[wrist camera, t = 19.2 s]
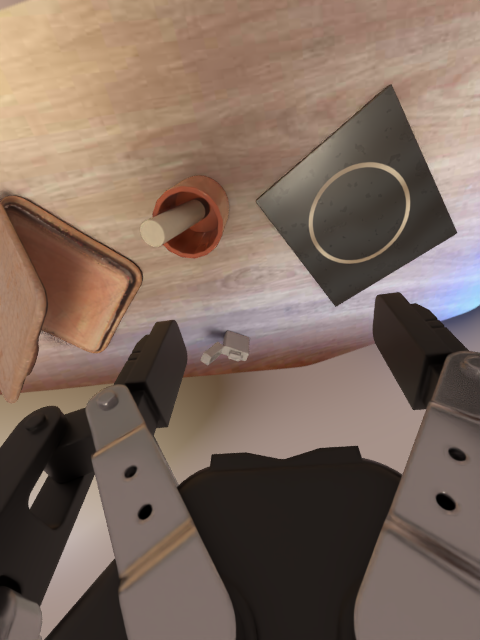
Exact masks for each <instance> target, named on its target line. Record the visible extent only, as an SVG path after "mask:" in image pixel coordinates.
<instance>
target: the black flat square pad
mask: <svg viewBox="0 0 480 640" xmlns="http://www.w3.org/2000/svg"><path fill="white" fill-rule="evenodd" d="M256 202H257V204H258V205H259V206H260V208H261V209H262V210H263V212H264V213H265V214H266V216H267V217H268V218H269V220H270V221H271V222H272V224H273V225H274V226H275V227H276V229H277V230H278V231H279V233H280V234H281V235H282V237H283V238H284V239H285V241H286V242H287V243H288V245H289V246H290V247H291V249H292V250H293V251H294V253H295V254H296V255H297V256H298V258H299V259H300V260H301V262H302V263H303V264H304V266H305V267H306V268H307V270H308V271H309V272H310V274H311V275H312V276H313V278H314V279H315V280H316V282H317V283H318V284H319V285H320V287H321V288H322V289H323V291H324V292H325V293H326V295H327V296H328V297H329V299H330V300H331V301H332V303H333V304H334V305H335V307H336V306H338V305H339V304H341V303H343V302H344V301H346V300H348V299H349V298H351V297H353V296H354V295H356V294H358V293H359V292H361V291H363V290H364V289H366V288H368V287H369V286H371V285H372V284H374V283H376V282H377V281H379V280H381V279H382V278H384V277H386V276H387V275H389V274H391V273H392V272H394V271H396V270H397V269H399V268H401V267H402V266H404V265H406V264H407V263H409V262H411V261H412V260H414V259H415V258H417V257H419V256H420V255H422V254H424V253H425V252H427V251H429V250H430V249H432V248H434V247H435V246H437V245H439V244H440V243H442V242H444V241H445V240H447V239H449V238H450V237H452V236H454V235H455V234H457V231H456V229H455V227H454V224H453V222H452V220H451V217H450V215H449V213H448V211H447V208H446V206H445V204H444V202H443V199H442V197H441V195H440V193H439V190H438V188H437V186H436V184H435V181H434V179H433V177H432V175H431V172H430V170H429V168H428V166H427V163H426V161H425V159H424V157H423V154H422V152H421V150H420V148H419V145H418V143H417V141H416V139H415V136H414V134H413V132H412V130H411V127H410V125H409V123H408V121H407V118H406V116H405V114H404V112H403V109H402V107H401V105H400V103H399V100H398V98H397V96H396V94H395V91H394V89H393V87H392V85H389V86H387V87H386V88H385V89H384V90H383V91H382V92H381V93H379V94H378V95H377V96H376V97H375V98H374V99H372V100H371V101H370V102H369V103H368V104H367V105H366V106H364V107H363V108H362V109H361V110H360V111H359V112H357V113H356V114H355V115H354V116H353V117H352V118H350V119H349V120H348V121H347V122H346V123H345V124H344V125H342V126H341V127H340V128H339V129H338V130H337V131H335V132H334V133H333V134H332V135H331V136H330V137H329V138H327V139H326V140H325V141H324V142H323V143H322V144H320V145H319V146H318V147H317V148H316V149H315V150H313V151H312V152H311V153H310V154H309V155H308V156H307V157H305V158H304V159H303V160H302V161H301V162H300V163H298V164H297V165H296V166H295V167H294V168H293V169H292V170H290V171H289V172H288V173H287V174H286V175H285V176H283V177H282V178H281V179H280V180H279V181H278V182H277V183H275V184H274V185H273V186H272V187H271V188H270V189H268V190H267V191H266V192H265V193H264V194H263V195H261V196H260V197H259V198H258V199H257V200H256Z"/></svg>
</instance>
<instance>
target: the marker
mask: <svg viewBox="0 0 480 640" xmlns="http://www.w3.org/2000/svg"><path fill="white" fill-rule="evenodd" d="M209 210H210V209H209V205H208V203H207V201H206V200H204V199H203V198H195V199H193V200H191V201H188V202H186V203H184V204H182V205H179V206H177V207H175V208H173V209H170V210H168V211H166V212H164V213H161V214H159V215H157V216H155V217H152V218H150V219H148V220H146V221H144V222H143V223H142V225H141V228H140V233H141V236H142V238H143V240H144V241H145V242H146V243H147V244H148V245H150V246H152V247H159V246H161V245H163V244H164V243H166V242H167V241H169V240H171V239H172V238H174V237H175V236H177V235H179V234H180V233H182V232H183V231H185V230H187V229H188V228H190V227H191V226H193V225H195V224H196V223H198V222H199V221H201V220H203V219H204V218H206V217H207V216H208V214H209Z"/></svg>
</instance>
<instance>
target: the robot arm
mask: <svg viewBox="0 0 480 640" xmlns="http://www.w3.org/2000/svg"><path fill="white" fill-rule="evenodd" d="M373 337H374V341H375V344H376V345H377V347H378V349H379V351H380V352H381V354H382V356H383V358H384V360H385V361H386V363H387V365H388V367H389V368H390V370H391V372H392V374H393V376H394V377H395V379H396V381H397V383H398V384H399V386H400V388H401V390H402V391H403V393H404V395H405V397H406V398H407V400H408V402H409V404H410V405H411V407H412V409H413V410H421V409H426V412H425V414H424V417H423V420H422V423H421V425H420V428H419V431H418V434H417V436H416V439H415V442H414V445H413V447H412V450H411V453H410V456H409V458H408V461H407V464H406V467H405V469H404V472H403V475H402V474H401V473H399V472H398V471H396V470H394V469H392V468H390V467H388V466H386V465H383V464H381V463H378V462H376V461H372V460H369V459H365V458H362V457H361V454H360V451H359V448H358V446H347V447H329V448H319V449H316V450H313V451H309V452H306V453H303V454H300V455H297V456H293V457H290V458H287V459H277V458H272V457H266V456H261V455H256V454H251V453H230V454H229V453H228V454H214V455H213V454H212V456H211V464H210V467H207V468H204V469H202V470H200V471H198V472H196V473H194V474H193V475H191V476H190V477H188V478H187V479H186V480H184V481H183V482H182V483H181V484H180V485H179V484H178V482H177V480H176V478H175V477H174V475H173V473H172V470H171V468H170V467H169V465H168V463H167V461H166V459H165V457H164V455H163V453H162V451H161V449H160V447H159V445H158V443H157V441H156V439H155V437H154V433H155V430H156V428H162V427H168V425H169V421H170V418H171V414H172V411H173V408H174V404H175V401H176V398H177V394H178V391H179V388H180V384H181V381H182V377H183V374H184V371H185V367H186V364H187V350H186V347H185V344H184V341H183V338H182V335H181V333H180V330H179V327H178V324H177V322H176V321H175V320H169V321H161V322H156V323H155V325H154V327H153V329H152V331H151V333H150V335H145V336H144V337H143V338H142V339H141V340H140V341H139V342H138V343H137V344H136V346H135V348H134V349H133V351H132V354H131V355H130V356H129V358H128V361H127V362H126V364H125V365H124V367H123V369H122V371H121V372H120V374H119V376H118V378H117V380H116V381H115V383H114V385H112V386H109V387H106V388H104V389H102V390H100V391H99V392H97V393H96V394H95V395H94V396H93V397H92V398H91V399H90V400H89V402H88V403H87V406H86V408H83V409H80V410H77V411H74V412H71V413H68V414H65V415H64V414H63V413H62V412H61V410H60V409H59V408H58V407H56V406H47V407H43V408H40V409H38V410H36V411H34V412H32V413H31V414H29V415H28V416H26V417H25V418H24V419H23V420H22V421H21V422H20V423H19V424H18V425H17V426H16V428H15V429H14V430H13V432H12V433H11V434H10V435H9V437H8V438H7V439H6V441H5V442H4V443H3V445H2V446H1V447H0V640H42V638H41V636H40V631H41V626H42V612H41V609H40V605H41V603H42V600H43V598H44V595H45V593H46V591H47V588H48V586H49V583H50V581H51V579H52V576H53V574H54V571H55V569H56V567H57V564H58V562H59V559H60V557H61V555H62V552H63V550H64V547H65V545H66V543H67V540H68V538H69V535H70V533H71V531H72V528H73V526H74V523H75V521H76V518H77V516H78V514H79V511H80V509H81V506H82V504H83V502H84V499H85V497H86V494H87V492H88V489H89V487H90V485H91V482H92V480H93V477H94V475H95V476H96V480H97V484H98V489H99V493H100V497H101V502H102V505H103V510H104V514H105V518H106V522H107V527H108V531H109V535H110V539H111V543H112V547H113V552H114V556H115V559H114V560H113V561H112V562H111V563H110V564H109V566H108V567H107V568H106V569H105V570H104V571H103V572H102V574H101V575H100V576H99V577H98V578H97V579H96V581H95V582H94V583H93V584H92V585H91V586H90V587H89V589H88V590H87V591H86V592H85V593H84V595H83V596H82V597H81V598H80V599H79V600H78V601H77V603H76V604H75V605H74V606H73V607H72V608H71V609H70V611H69V612H68V613H67V614H66V615H65V616H64V618H63V619H62V620H61V621H60V622H59V623H58V625H57V626H56V627H55V628H54V629H53V630H52V631H51V633H50V634H49V635H48V636H47V637H46V638H45V639H44V640H480V353H478V352H473V351H469V350H468V349H467V348H465V346H464V345H463V344H462V343H461V342H460V341H459V340H458V339H457V338H456V337H455V336H454V335H453V334H452V333H451V332H450V331H449V330H448V329H447V328H446V327H444V325H443V324H442V323H441V322H440V321H439V320H437V317H436V316H435V315H434V314H433V313H432V312H431V311H430V310H428V309H426V308H424V307H422V306H420V305H418V304H416V303H414V304H410V303H409V302H408V301H407V300H406V299H405V297H404V296H403V295H402V294H401V293H399V292H397V293H389V294H381V295H377V296H376V299H375V308H374V319H373ZM43 470H44V471H45V472H46V473H47V474H48V477H47V479H46V481H45V483H44V485H43V486H42V488H41V490H40V492H39V494H38V495H37V497H36V499H35V501H34V503H33V504H32V506H31V508H30V510H29V507H28V500H29V496H30V493H31V491H32V489H33V488H34V486H35V484H36V482H37V481H38V479H39V477H40V475H41V474H42V472H43Z"/></svg>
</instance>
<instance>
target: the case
mask: <svg viewBox="0 0 480 640" xmlns="http://www.w3.org/2000/svg"><path fill="white" fill-rule="evenodd" d="M141 283H142V275H141V272H140V270H139V269H138V267H137V266H136V265H135V264H133V263H132V262H131V261H129V260H128V259H126V258H124V257H122V256H121V255H119V254H117V253H116V252H114V251H112V250H110V249H109V248H107V247H105V246H103V245H102V244H100V243H98V242H96V241H94V240H93V239H91V238H89V237H88V236H86V235H84V234H82V233H80V232H79V231H77V230H76V229H74V228H72V227H71V226H69V225H67V224H66V223H64V222H62V221H61V220H59V219H57V218H56V217H54V216H52V215H51V214H49V213H47V212H46V211H44V210H43V209H41V208H39V207H37V206H36V205H34V204H32V203H31V202H29V201H27V200H25V199H23V198H21V197H17V196H7V197H5V198H4V199H3V200H2V201H1V202H0V390H1V392H2V394H3V397H4V398H5V400H6V401H7V402H9V403H15V402H16V401H17V400H18V398H19V395H20V392H21V390H22V387H23V384H24V381H25V378H26V376H28V375H29V374H30V373H31V372H32V369H33V367H34V365H35V362H36V359H37V356H38V351H39V345H38V341H39V340H38V338H39V335H40V333H41V330H43V331H45V332H47V333H49V334H51V335H53V336H56V337H58V338H60V339H62V340H64V341H66V342H68V343H71V344H73V345H75V346H77V347H79V348H81V349H83V350H85V351H88V352H91V353H100V352H102V351H104V350H105V349H106V348H107V346H108V344H109V342H110V341H111V339H112V337H113V335H114V333H115V330H116V329H117V327H118V325H119V323H120V321H121V319H122V317H123V315H124V314H125V312H126V310H127V309H128V307H129V305H130V303H131V301H132V300H133V298H134V296H135V294H136V293H137V291H138V289H139V288H140V286H141Z"/></svg>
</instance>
